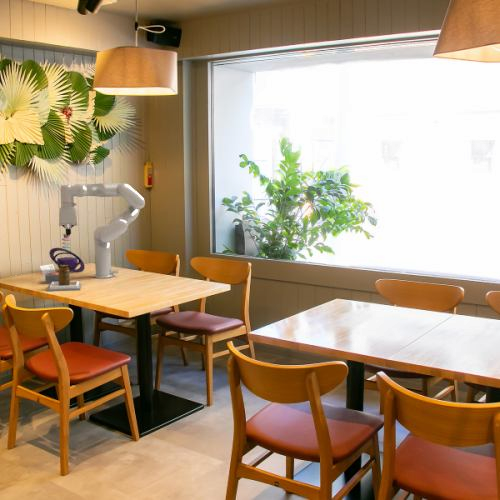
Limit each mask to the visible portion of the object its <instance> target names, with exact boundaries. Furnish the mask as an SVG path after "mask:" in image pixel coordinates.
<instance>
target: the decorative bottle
mask: <svg viewBox="0 0 500 500" xmlns="http://www.w3.org/2000/svg"><path fill="white" fill-rule="evenodd" d="M62 235H63V238H62V239H61V240H62V242H61V244H62V245H63V246H62V248H61V247H53V248H51V249H50V250H49V252H48V253H49V257H50V259H51V260H52V261H53V262H54V264H56V266H57V267H58V268H59V266H60V265H68V266H69V267H68V268H69V273H82V272H83V271H84V270H85V263H84V262H83V259H81V258H80V257H79V256H78V255H77V254H76V253H74V252H73V251H70V250H68V249H70V248H71V242H70V240H71V238H69V235H68V236H67V234H66V233H63V234H62ZM63 241H64V242H63ZM55 252H58V253H56V254H55ZM64 254H66V255H72V257H71V256H70V257H68V256H65V257H59V258H57V257H58V256H60V255H64ZM79 265H80V266H79ZM78 266H79V268H77V267H78Z"/></svg>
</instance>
